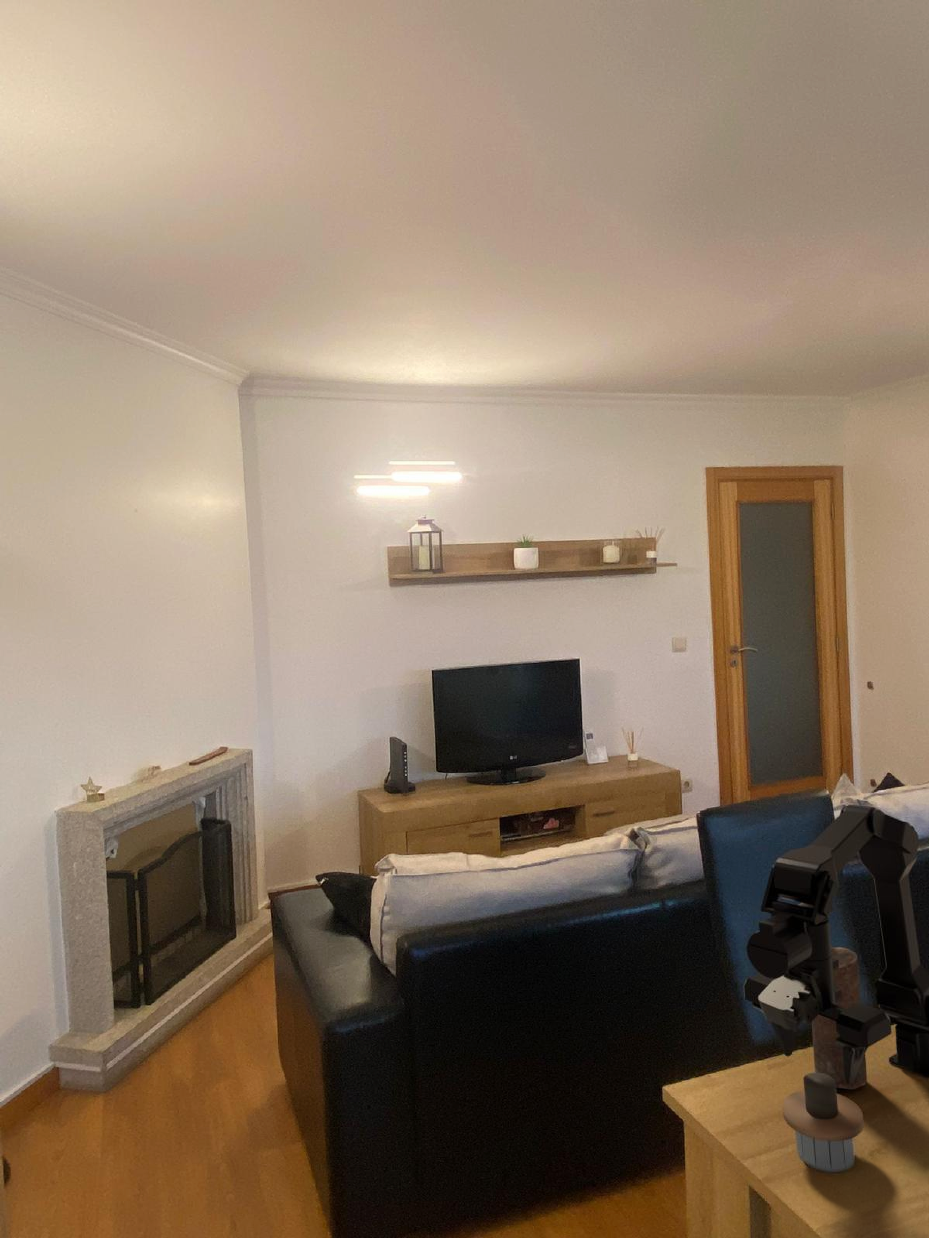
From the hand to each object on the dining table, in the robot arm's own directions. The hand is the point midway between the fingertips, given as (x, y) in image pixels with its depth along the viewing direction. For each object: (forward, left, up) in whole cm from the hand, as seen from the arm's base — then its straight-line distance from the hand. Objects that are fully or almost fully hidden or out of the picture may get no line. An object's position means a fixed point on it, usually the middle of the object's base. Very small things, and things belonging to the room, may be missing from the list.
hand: (818, 1068), depth 113 cm
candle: (-17, -9, -12) cm, 22 cm away
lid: (0, 0, -7) cm, 7 cm away
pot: (0, 0, -12) cm, 12 cm away
